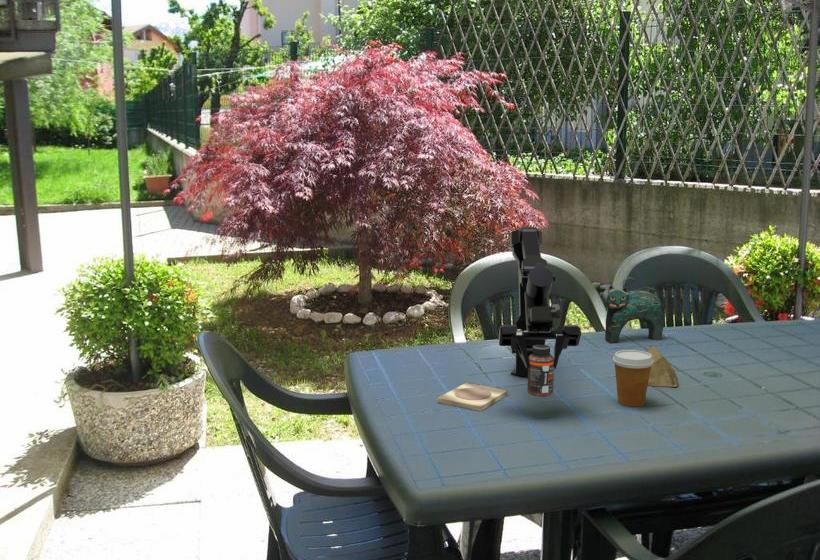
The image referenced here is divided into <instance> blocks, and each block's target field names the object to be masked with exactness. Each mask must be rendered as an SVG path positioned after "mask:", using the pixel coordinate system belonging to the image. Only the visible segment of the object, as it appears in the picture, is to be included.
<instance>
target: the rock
mask: <svg viewBox="0 0 820 560" xmlns="http://www.w3.org/2000/svg"><path fill="white" fill-rule="evenodd" d="M646 352H647V353H649V354H651V356H652V359H653V363H652V366H651V370H650V375H649V381H648V386H650V387H664V388H665V387H668V388H669V387H670V388H674V387H675V388H677V387H678V386H679V379H678V376H677V373H676V371H675V369H674V368H673V367H672V365H671V363H670V362H669V361H668V359H667V358H666V357H665V356H664V355H663V354H662V353H661V352H660V351H659V350H658V348H656V347H653V346H649V347H648V350H647V351H646Z"/></svg>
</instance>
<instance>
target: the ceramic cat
mask: <svg viewBox="0 0 820 560" xmlns="http://www.w3.org/2000/svg"><path fill="white" fill-rule="evenodd" d="M629 279H631V280H632V281H633V282H635V281H636V280H635V279H634V278H633V277H625V278H624V279H623V282H622V288H619V287H615V286H612V285H609V287H608V288H606V289H605V290H604V291H603V293H602V302H603V304H604V306H605V307H607V311H606V317H605V329H604V330H605V332H604V334H605V335H604V339H605V341H606V342H607V343H609V344H618V343H619V340H620V335H621V332H622V330H623V328H624V327H625V325H626V324H627V323H629V322H630V321H634V320H641V321H643V322H644V323H646V325H647V329H648V339H650V340H652V341H660V340H662V337H663V332H664V331H663V330H664V326H665V322H666V321H665V319H666V314H665V309H664V305H663V303H662V301H661V295H660V292H659V291H658V290H657V289H655V288H653V287H639V288H638V289H636V290H635V289H634V290H630V291H629V290H627V289H628V287H625V286H624V284H625V281H627V280H629ZM645 290H652V291H654V292H655V293H656V294H657V295H658V296H657V295H655V294H653V293H651V292H649V291H645Z"/></svg>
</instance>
